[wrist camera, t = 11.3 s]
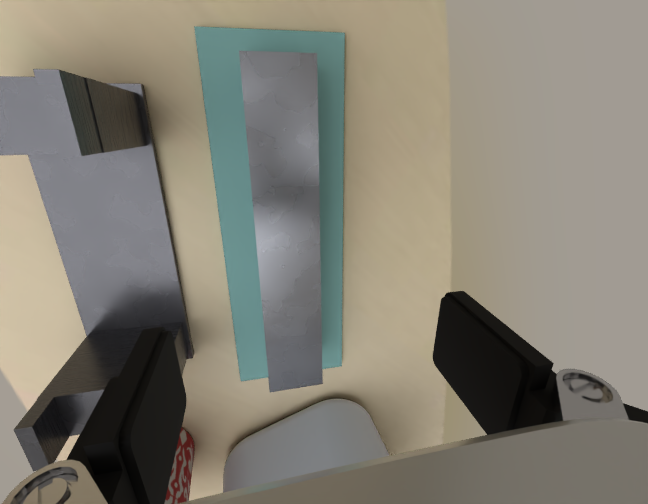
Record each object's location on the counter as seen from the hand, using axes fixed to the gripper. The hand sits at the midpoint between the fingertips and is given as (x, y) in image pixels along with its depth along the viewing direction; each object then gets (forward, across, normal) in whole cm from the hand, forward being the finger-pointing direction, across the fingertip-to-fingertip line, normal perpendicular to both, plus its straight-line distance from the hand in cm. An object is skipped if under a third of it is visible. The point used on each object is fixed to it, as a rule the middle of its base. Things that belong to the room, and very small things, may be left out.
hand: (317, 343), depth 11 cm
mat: (+15, 0, +1) cm, 15 cm away
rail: (+14, 0, +1) cm, 14 cm away
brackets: (+15, +11, +1) cm, 19 cm away
